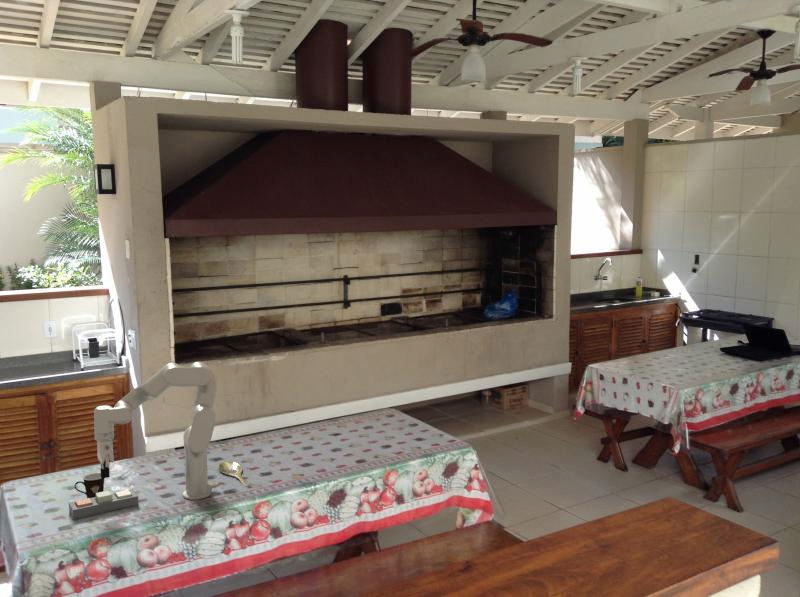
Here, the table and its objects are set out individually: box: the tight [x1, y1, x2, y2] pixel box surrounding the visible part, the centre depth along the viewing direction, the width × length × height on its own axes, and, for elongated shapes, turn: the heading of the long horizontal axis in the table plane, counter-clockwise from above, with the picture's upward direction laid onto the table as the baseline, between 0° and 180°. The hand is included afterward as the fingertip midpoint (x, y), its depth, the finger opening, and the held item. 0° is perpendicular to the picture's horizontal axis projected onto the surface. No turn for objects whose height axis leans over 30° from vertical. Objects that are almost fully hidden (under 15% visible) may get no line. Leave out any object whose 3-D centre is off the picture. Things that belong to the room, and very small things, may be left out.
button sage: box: [96, 490, 112, 503], centre depth 303 cm, size 5×5×4 cm
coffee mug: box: [74, 472, 105, 499], centre depth 315 cm, size 12×9×10 cm
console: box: [68, 488, 140, 521], centre depth 304 cm, size 26×9×4 cm, turn 124°
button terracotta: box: [75, 497, 92, 508], centre depth 299 cm, size 5×5×4 cm
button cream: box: [114, 489, 132, 499], centre depth 308 cm, size 5×5×4 cm
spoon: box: [217, 460, 248, 485], centre depth 342 cm, size 35×11×2 cm, turn 33°
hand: (105, 477), depth 303 cm, fingers closed
